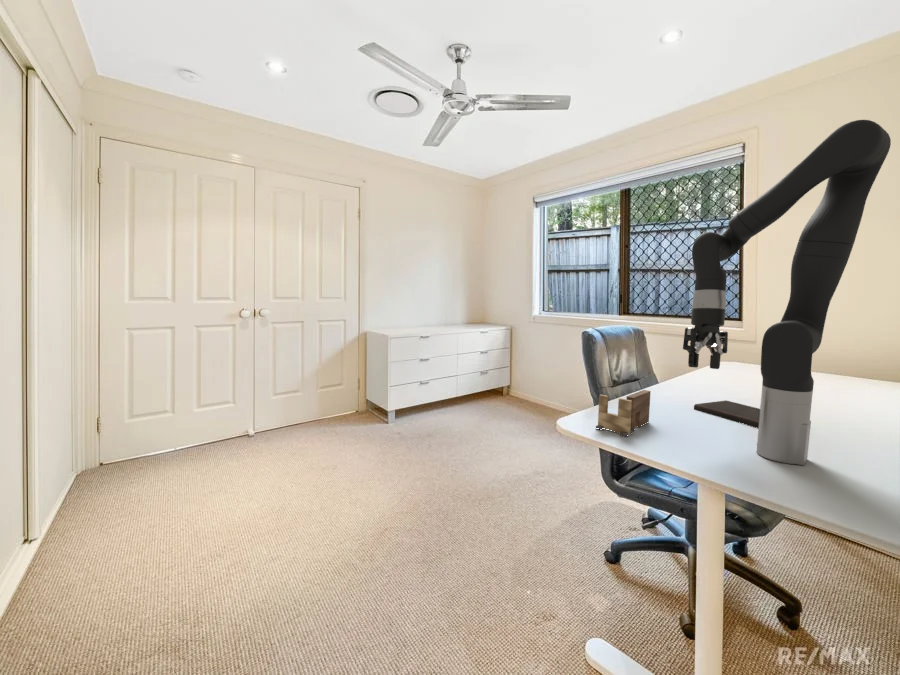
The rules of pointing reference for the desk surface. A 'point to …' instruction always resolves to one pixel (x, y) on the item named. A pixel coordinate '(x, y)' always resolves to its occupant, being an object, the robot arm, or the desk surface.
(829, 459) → the desk surface
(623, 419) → the oak upright
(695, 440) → the desk surface
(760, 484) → the desk surface
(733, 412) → the hardcover book
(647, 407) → the brown notched wooden panel
